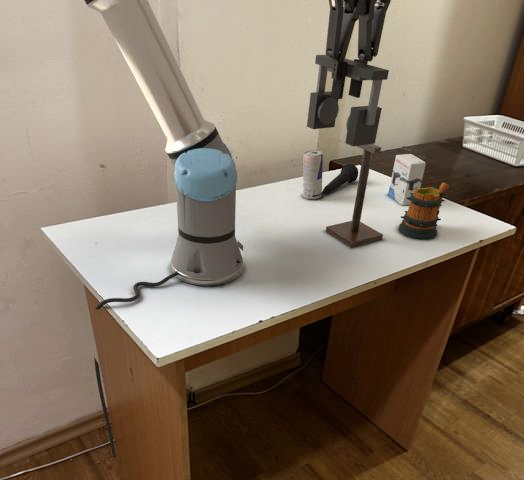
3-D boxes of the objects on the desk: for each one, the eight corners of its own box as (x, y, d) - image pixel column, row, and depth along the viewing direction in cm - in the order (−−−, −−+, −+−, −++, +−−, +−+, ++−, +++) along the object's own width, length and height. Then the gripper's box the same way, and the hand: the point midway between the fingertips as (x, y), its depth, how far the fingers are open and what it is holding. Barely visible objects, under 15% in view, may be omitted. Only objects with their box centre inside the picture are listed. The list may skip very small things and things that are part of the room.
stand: (351, 247, 121) (367, 153, 108) (325, 231, 128) (337, 140, 114) (382, 239, 126) (401, 147, 112) (355, 224, 132) (371, 135, 119)
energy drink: (324, 194, 147) (326, 151, 139) (316, 200, 143) (317, 156, 136) (308, 191, 149) (308, 149, 142) (299, 197, 145) (299, 154, 138)
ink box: (387, 194, 151) (395, 154, 143) (401, 193, 152) (410, 153, 145) (401, 205, 144) (411, 163, 137) (416, 204, 145) (426, 162, 138)
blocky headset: (355, 147, 101) (369, 70, 93) (304, 125, 112) (312, 54, 104) (377, 145, 104) (393, 70, 96) (325, 123, 115) (334, 54, 107)
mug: (420, 244, 125) (432, 198, 118) (388, 229, 131) (398, 184, 124) (452, 232, 132) (465, 188, 125) (420, 218, 138) (431, 175, 131)
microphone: (324, 208, 147) (357, 182, 159) (330, 192, 143) (364, 166, 154) (309, 198, 149) (343, 173, 160) (315, 182, 144) (350, 157, 156)
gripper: (344, -53, 83) (324, 103, 97) (417, -45, 91) (388, 98, 105) (316, -54, 88) (300, 95, 102) (387, -46, 96) (364, 90, 110)
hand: (345, 96), depth 103 cm, fingers closed on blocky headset, 4 cm apart
